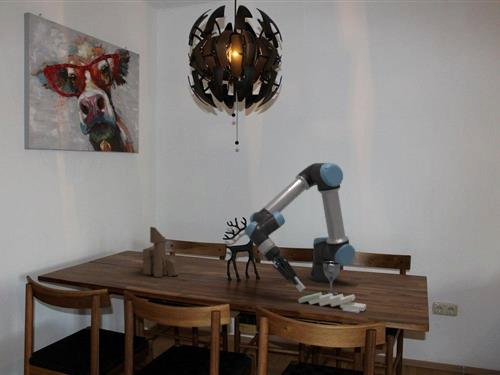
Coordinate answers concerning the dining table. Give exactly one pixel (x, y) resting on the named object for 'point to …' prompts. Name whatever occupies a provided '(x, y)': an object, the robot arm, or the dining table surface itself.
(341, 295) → the domino
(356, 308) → the domino
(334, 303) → the domino
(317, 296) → the domino
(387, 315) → the dining table surface
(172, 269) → the wooden blocks
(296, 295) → the dining table surface
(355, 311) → the coaster
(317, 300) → the domino
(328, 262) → the wine glass
